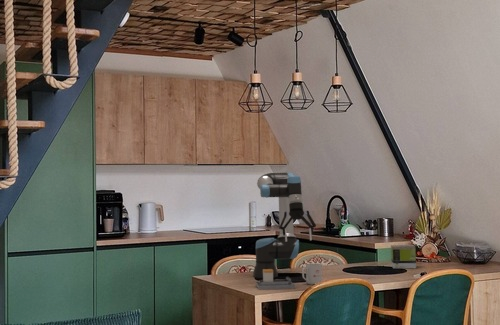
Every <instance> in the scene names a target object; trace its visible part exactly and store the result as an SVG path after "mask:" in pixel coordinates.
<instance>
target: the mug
mask: <svg viewBox="0 0 500 325" xmlns="http://www.w3.org/2000/svg"><path fill="white" fill-rule="evenodd" d="M301 272H302V273H301V277H302V279H303V280H304V281H305V282H306V284H307V285H309V286H311V285H312V286H314V285H313V284H315V283H318V282H321V281H322V280H323V279H322V277H323V276H322V274H323V273H322V272H323V271H322V263H306V264H305V267H302V268H301ZM321 283H322V282H321Z"/></svg>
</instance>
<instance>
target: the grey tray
mask: <svg viewBox="0 0 500 325" xmlns="http://www.w3.org/2000/svg"><path fill="white" fill-rule="evenodd" d="M255 286H256V288H257V289H258V290H260V291H261V289H263V290H287V289H289V290H290V289H291V290H292V288H293V289H296V284H295V283H294V282H292V278H290V277H289V276H285V279H284V278H283V279H282V278H281V279H273V282H263V279H259V281H257V282H255Z"/></svg>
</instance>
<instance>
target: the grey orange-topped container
mask: <svg viewBox="0 0 500 325" xmlns="http://www.w3.org/2000/svg"><path fill="white" fill-rule="evenodd" d="M262 280H263V282H273V280H274V278H273V270H272V269H263V278H262Z"/></svg>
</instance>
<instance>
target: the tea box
mask: <svg viewBox="0 0 500 325" xmlns="http://www.w3.org/2000/svg"><path fill="white" fill-rule="evenodd" d="M390 249H391V257H390V258H391V267H392V269H417V256H416V255H417V254H416V253H417V252H416V250H417V249H416V245H414V244H391V245H390Z"/></svg>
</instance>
